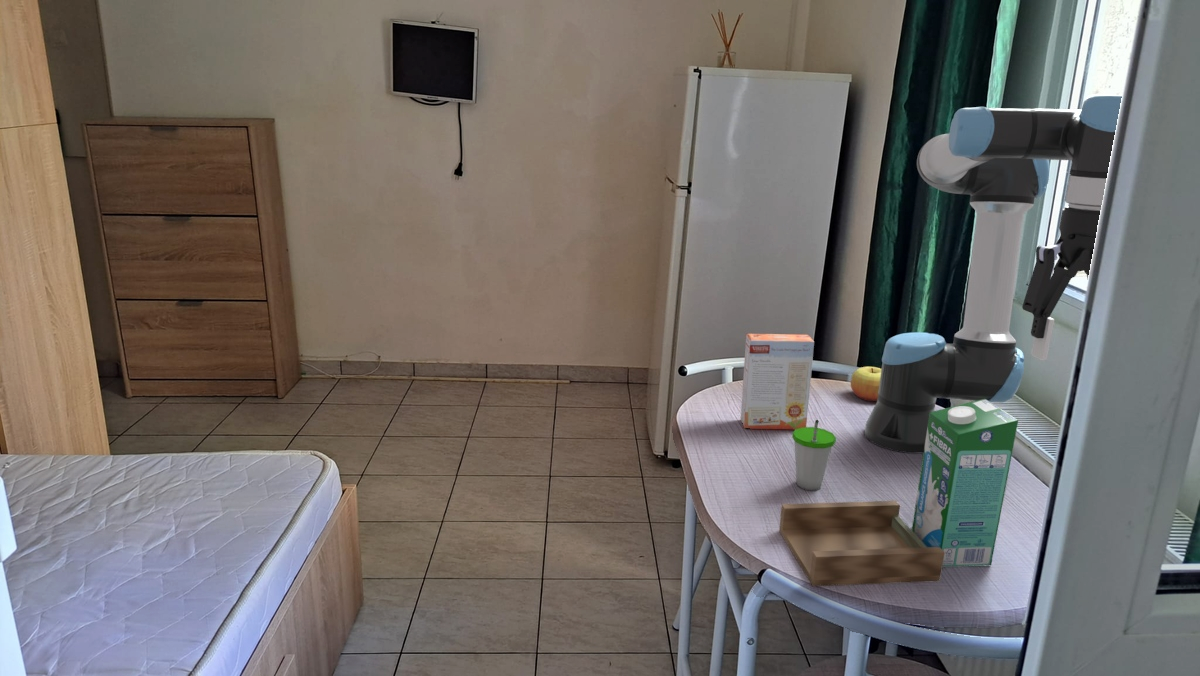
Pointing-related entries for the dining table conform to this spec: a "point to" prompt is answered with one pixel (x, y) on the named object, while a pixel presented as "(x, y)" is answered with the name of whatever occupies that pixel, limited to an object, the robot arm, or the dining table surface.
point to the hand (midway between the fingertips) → (1062, 357)
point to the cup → (812, 455)
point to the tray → (857, 544)
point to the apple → (866, 383)
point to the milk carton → (964, 481)
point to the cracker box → (776, 381)
